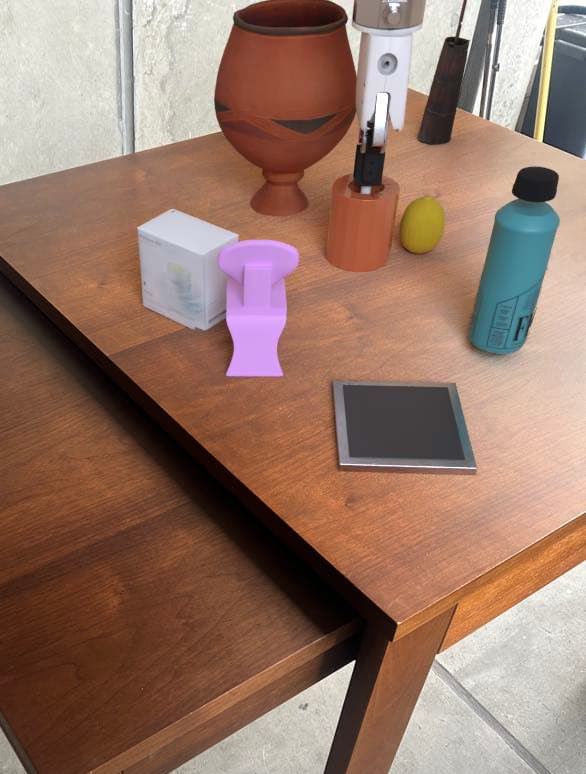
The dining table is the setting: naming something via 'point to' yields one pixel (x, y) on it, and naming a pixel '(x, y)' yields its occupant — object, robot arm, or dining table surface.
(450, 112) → the butter churn
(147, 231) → the cosmetics box
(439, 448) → the tablet
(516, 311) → the beverage bottle
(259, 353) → the toy chair
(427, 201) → the lemon
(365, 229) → the pen cup
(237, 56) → the goblet
